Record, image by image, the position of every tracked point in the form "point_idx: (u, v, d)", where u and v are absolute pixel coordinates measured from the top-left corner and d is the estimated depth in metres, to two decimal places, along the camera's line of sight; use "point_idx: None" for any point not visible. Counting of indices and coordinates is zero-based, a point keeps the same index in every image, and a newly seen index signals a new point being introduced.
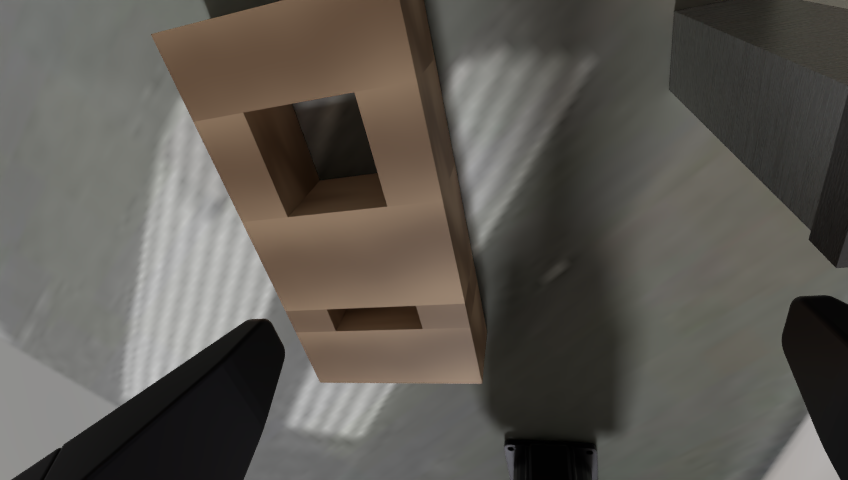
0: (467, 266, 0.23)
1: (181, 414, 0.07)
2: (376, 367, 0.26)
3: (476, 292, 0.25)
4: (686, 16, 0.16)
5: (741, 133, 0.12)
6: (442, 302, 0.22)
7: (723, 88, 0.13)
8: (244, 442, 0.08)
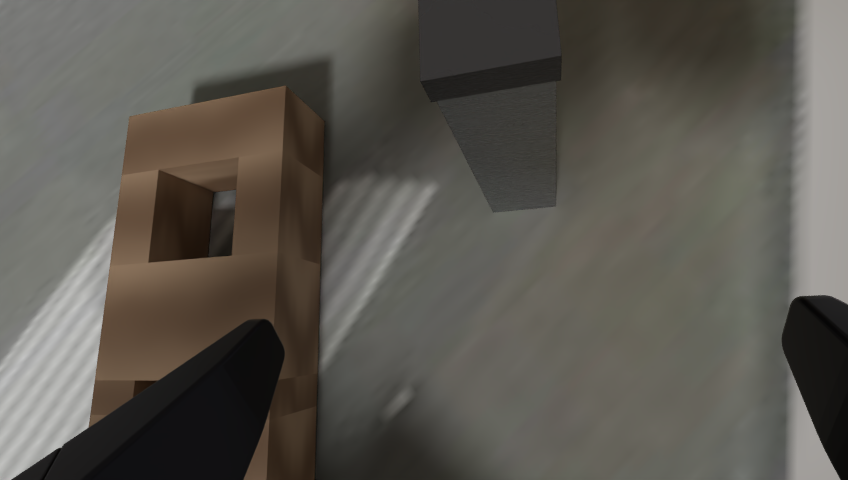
0: (299, 362, 0.21)
1: (181, 414, 0.07)
2: None
3: (308, 415, 0.22)
4: None
5: None
6: None
7: None
8: (244, 442, 0.08)
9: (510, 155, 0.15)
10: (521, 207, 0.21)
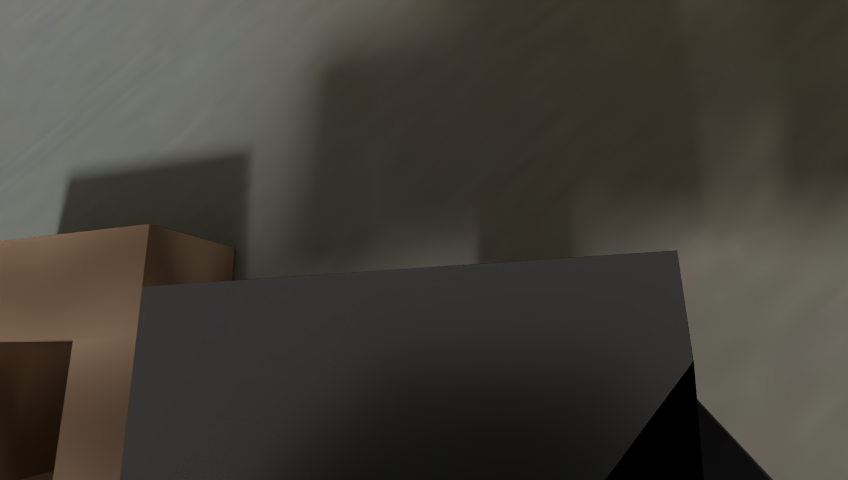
0: None
1: None
2: None
3: None
4: None
5: None
6: None
7: None
8: None
9: None
10: None
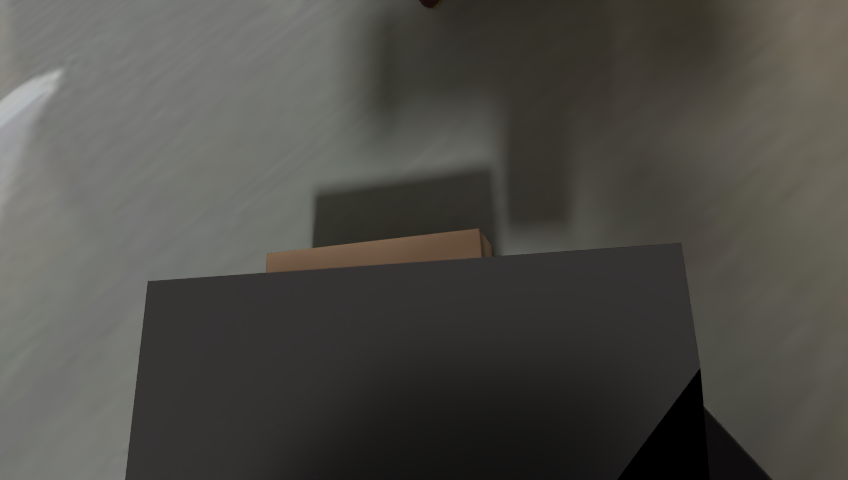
0: None
1: None
2: None
3: None
4: None
5: None
6: None
7: None
8: None
9: None
10: None
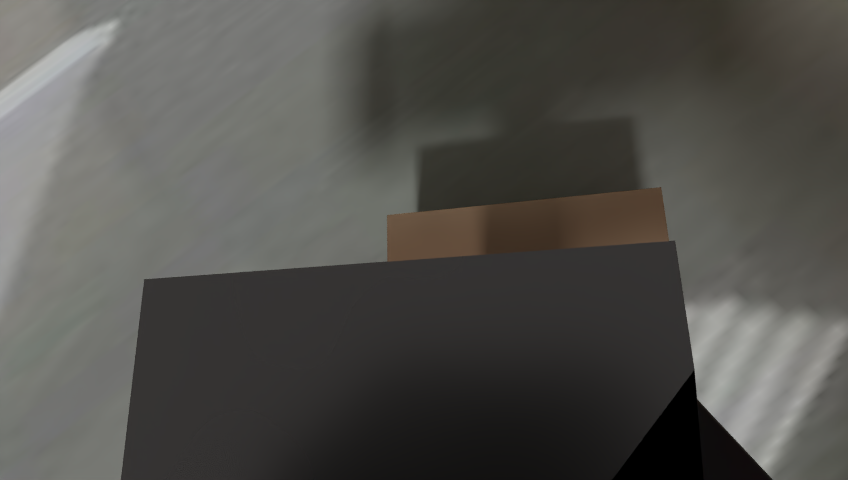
0: None
1: None
2: None
3: None
4: None
5: None
6: None
7: None
8: None
9: None
10: None
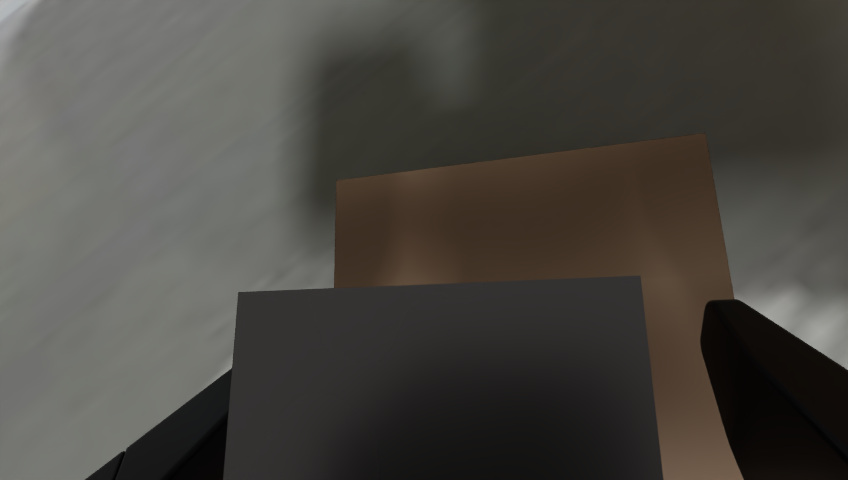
0: None
1: None
2: None
3: None
4: None
5: None
6: None
7: None
8: None
9: None
10: None
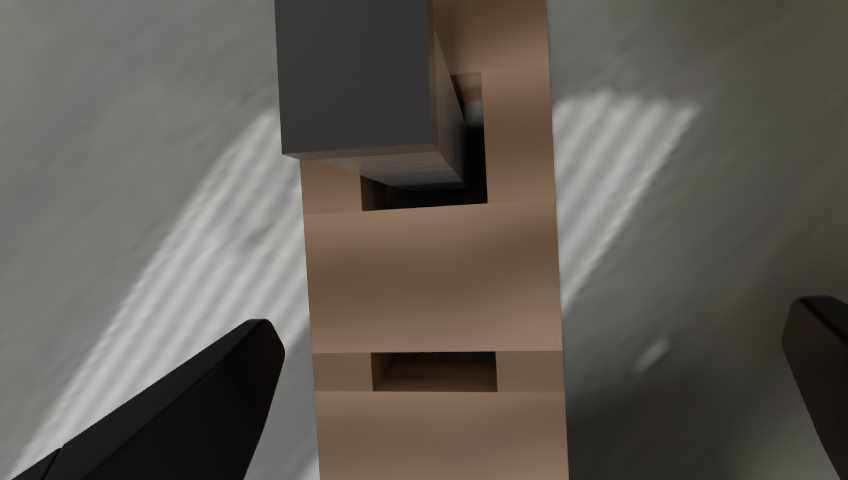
0: None
1: (181, 414, 0.07)
2: (415, 462, 0.18)
3: None
4: None
5: None
6: (532, 347, 0.17)
7: None
8: (244, 442, 0.08)
9: (407, 173, 0.14)
10: (433, 189, 0.21)
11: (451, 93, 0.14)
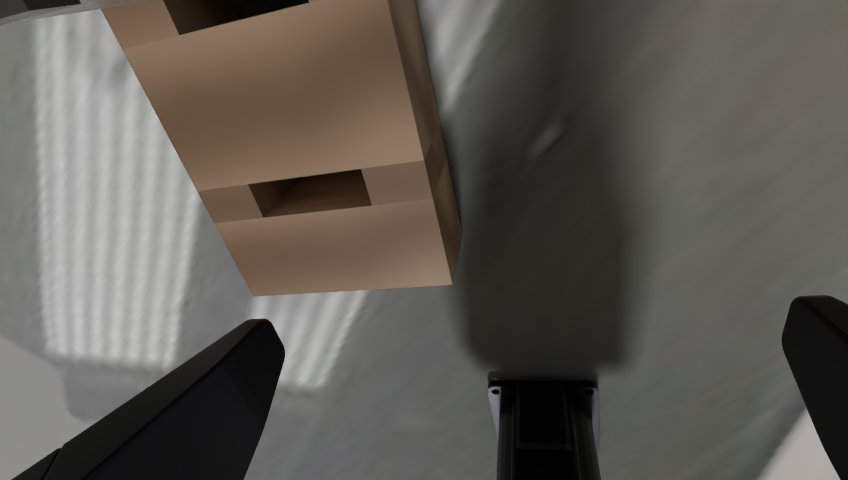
0: (430, 123, 0.18)
1: (181, 414, 0.07)
2: (319, 269, 0.20)
3: (445, 171, 0.20)
4: None
5: None
6: (394, 160, 0.16)
7: None
8: (244, 442, 0.08)
9: None
10: None
11: None
